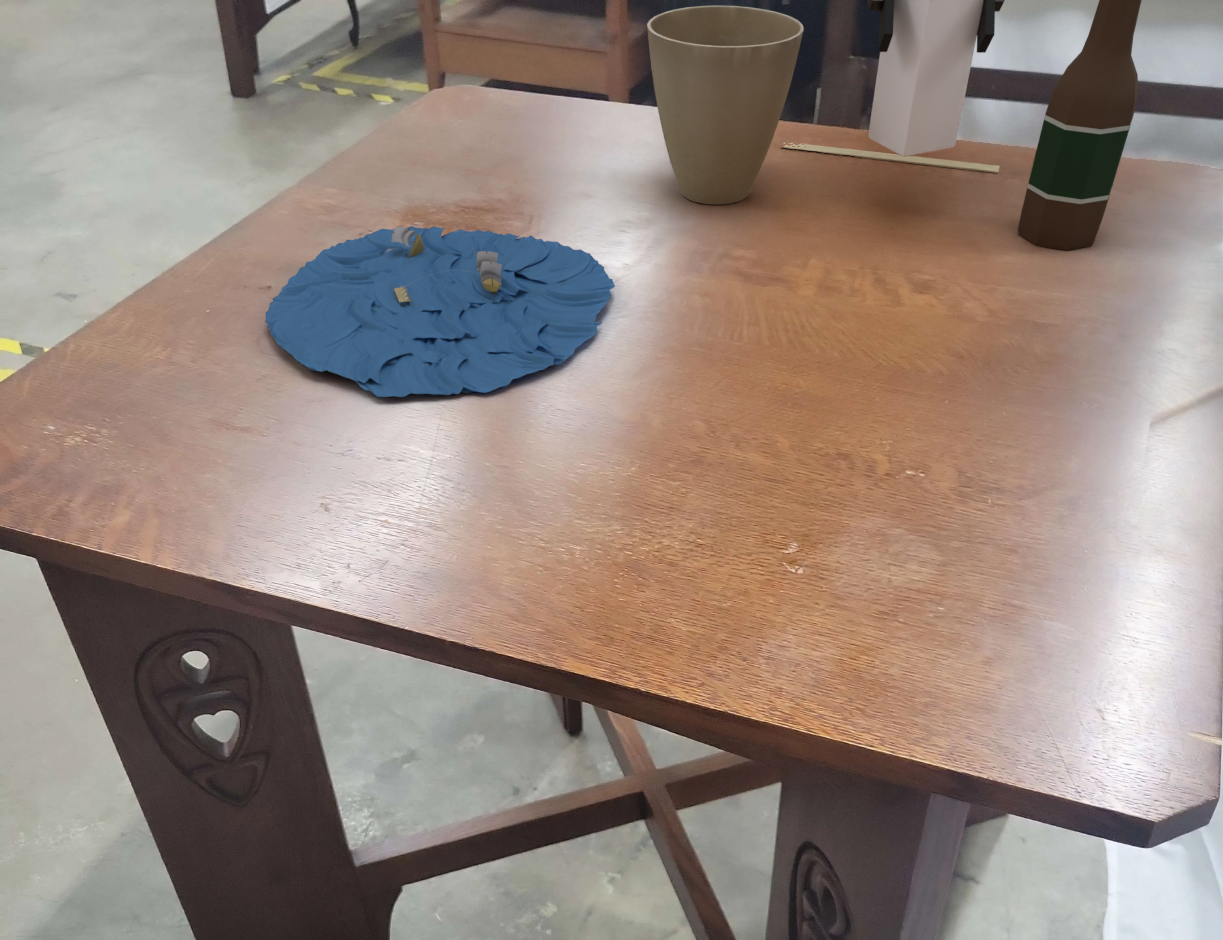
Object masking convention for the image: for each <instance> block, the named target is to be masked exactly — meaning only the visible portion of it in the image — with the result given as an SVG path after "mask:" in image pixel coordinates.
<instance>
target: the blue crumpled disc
mask: <svg viewBox="0 0 1223 940" xmlns="http://www.w3.org/2000/svg"><path fill="white" fill-rule="evenodd" d="M445 229H446V226H445V227H437V226H431V227H429V228H427V227H415V226H409V227H404V226H400V225H397V226H396V227H395V228H392V229H391V228H390V229H389V228H380V229H378V230H375V231H372V232H371V233H366V234H365V235H364V236H363V237H359V238H354V239H346V240H345V241H344V242H339V243H336V245H332V246H330V247H329V248H326V249H322V250H321V251H320V252H319V253H318V254H317V255H316V256H315V258H314V259H313V260H309V261H306V262H305V263H304V266H301V267H299V269H298V270H297V272H296V274H294V275H293V276H291V277H290V278H288V280H287V283H286V284H285V285H284V286H282V288H281V290H280V292H279V293H278V294H277V296H274V297H273V298H272V301H271V302H270V303H269V305H268V306H269V307H268V310H267V311H266V312H265V320H264V322H265V323H266V325H267V329H268V331H269V332H270V336H271V337H272V338H273V339H274V341H275V342H276V344H277V345H278V346H279V347H280V348H281V349H283V350H284V351H286V353H288V354H289V355H290V356H292V358H293V359H294V360H295V361H296V362H298V363H299V364H301V366H303V367H306V368H308V369H309V370H310V371H311V372H325V371H328V372H330V373H332V374H335V375H336V374H337V375H339V376H341V377H343V378H346V379H350V380H352V381H354V382H355V383H356V384H357V385H358V386H359V387H360V388H361V389H362V390H363V391H368V392H371V393H372V394H373V395H374V396H376V397H377V398H379V397H380V398H381V397H382V398H389V397H396V398H397V397H398V398H404V397H407V396H408V395H410V394H414V395H424V394H429V395H445V396H450V395H452V394H455V395H459V394H461V393H465V394H469V393H473V392H475V393H476V392H477V393H481V394H487V393H489V392H492V391H495V390H497V389H499V388H500V387H507V386H508V385H510V383H511V382H512V381H513V380H514V379H521V378H522V377H524V376H526V375H529V374H533V373H537V372H539V371H544V370H546V369H547V368H548V367H551V366H554V365H560V364H562V363H564V362H565V361H566V360H567V359H568V358H569V357H572V356H574V353H575V350H576V349H577V348H578V347H580V346H582V344H584V343H585V342H587V341H589V340H590V339H591V338H594V336H595V335H596V333H598V326H601V325H602V323H603V321H599V322H596V318H597V315H598V314H600V312H601V310H602V309H603V308H605V306H606V305H607V303H608V302H609V300H610V298H611V289H613V288H615V287H616V285H615V282H614V280H613V278H610V276H609V275H608V273H607V272H606V271H605V267H604V265H602V264H601V263H599V260H597V259H595V258H594V257H593V256H592V254H591V253H589V252H586V251H584V250H582V249H581V248H580V249H573V248H572V247H571V246H568V245H564V244H561V243H560V242H559V241H551V240H546V241H544V240H543V238H535V237H534V236H533V235H529V236H527V237H526V236H520V235H515V234H512V233H505V234H503V233H497V232H492V231H490V230H486V231H485V230H484V231H483V230H480V229H476V230H471V231H469V230H465V229H457V230H454V231H450V232H448V233H445V234H444V235H442V234H443V231H444V230H445Z"/></svg>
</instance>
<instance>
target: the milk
mask: <svg viewBox="0 0 1223 940" xmlns="http://www.w3.org/2000/svg"><path fill="white" fill-rule="evenodd" d="M983 2H984V0H894V21H893V36H892V39H891V42H890V45H889V47H888V50H887V52H879V58H878V64H877V65H878V66H877V71H876V78H875V86H874V92H873V100H872V105H871V106H872V107H871V114H870V120H869V128H868V135H867V138H868V139H870V140H871V141H872V142H875V143H877V144H879V145H880V146H883V147H884V148H886V149H888V150H890V151H892V152H893V153H894V154H898V155H901V156H903V157H905V156H916V155H921V154H926V153H932V152H938V151H943V150H948V149H954V148H955V147H956V145H957V144H956V143H957V140H958V139H957V138H958V133H959V129H960V123H961V119H962V113H963V108H964V104H965V99H966V93H967V88H968V83H969V78H970V73H971V67H972V63H973V57H974V53H975V47H976V44H977V32H978V27H979V22H980V17H981V12H982V7H983Z"/></svg>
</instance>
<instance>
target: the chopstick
mask: <svg viewBox="0 0 1223 940" xmlns="http://www.w3.org/2000/svg"><path fill="white" fill-rule="evenodd" d="M793 143H794V142H791V143H789V144H793ZM783 144H785V142H784V143H783ZM802 144H804V145H802ZM792 146H795V147H792ZM797 146H800V147H797ZM805 146H806V147H805ZM784 147H786V148H790V149H793V148H794V149H803V150H808V151H818V152H825V153H834V154H841V155H840V156H842V155H851V156H855V157H854V158H859V157H862V158H861V159H867V160H868V159H869V160H878V161H886V162H896V163H904V164H912V165H921V166H929V167H930V166H931V167H939V168H949V169H956V170H965V171H974V172H983V173H990V174H998V173H999V171H1000V167H1001V166H1000V165H996V164H995V165H994V164H985V163H978V162H970V161H969V162H967V161H960V160H951V159H942V158H932V157H923V156H916V155H911V156H905V157H903V156H901V155H899V154H897V153H888V152H879V151H871V150H861V149H852V148H844V147H836V146H835V147H834V146H827V145H818V144H817V145H816V144H809V143H800V144H799V145H795V144H793V145H790V146H788V145H785V146H784ZM851 156H850V157H851Z"/></svg>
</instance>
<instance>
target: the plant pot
mask: <svg viewBox="0 0 1223 940" xmlns="http://www.w3.org/2000/svg"><path fill="white" fill-rule="evenodd" d="M804 27H805V26H804V25H803V23H802V22H800V20H798V19H796V18H794V17H793V16H790V15H788V14H785V13H782V12H778V11H773V10H770V9H763V8H758V7H757V8H756V7H750V6H739V5H700V6H699V5H698V6H690V7H689V6H688V7H681V8H677V9H676V8H675V9H672V10H668V11H664V12H662V13H659V14H657V15H655V16H653V17H652V18H650V19H649V20H648V21H647V23H646V28H647V29H646V30H647V39H648V48H649V58H650V68H651V74H652V82H653V89H654V96H655V101H656V106H657V112H658V117H659V122H660V126H661V131H662V134H663V139H664V145H665V147H666V151H667V155H668V158H669V161H670V165H671V168H672V172H673V175H674V179H675V181H676V185H677V188H678V190H679V193H680V195H681V196H683V198H685V199H687V200H689V201H692V202H695V203H698V204H705V205H714V206H715V205H731V204H734V202H735V203H739V202H741V201H743V200H745V199H746V198H747V197H748V196H749V194H750V193H751V191H752V189H753V187H754V184H755V182H756V180H757V178H758V176H759V173H760V171H761V169H762V167H763V164H764V162H765V159H766V157H767V155H768V152H769V150H770V146H771V144H772V142H773V139H774V137H775V133H776V130H777V128H778V125H779V123H780V119H781V116H782V112H783V110H784V107H785V104H786V101H787V98H788V97H787V96H788V94H789V91H790V88H791V84H792V79H793V76H794V72H795V68H796V64H797V59H798V56H799V52H800V48H801V43H802V39H803V34H804V30H805V28H804ZM744 198H745V199H744Z"/></svg>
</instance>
